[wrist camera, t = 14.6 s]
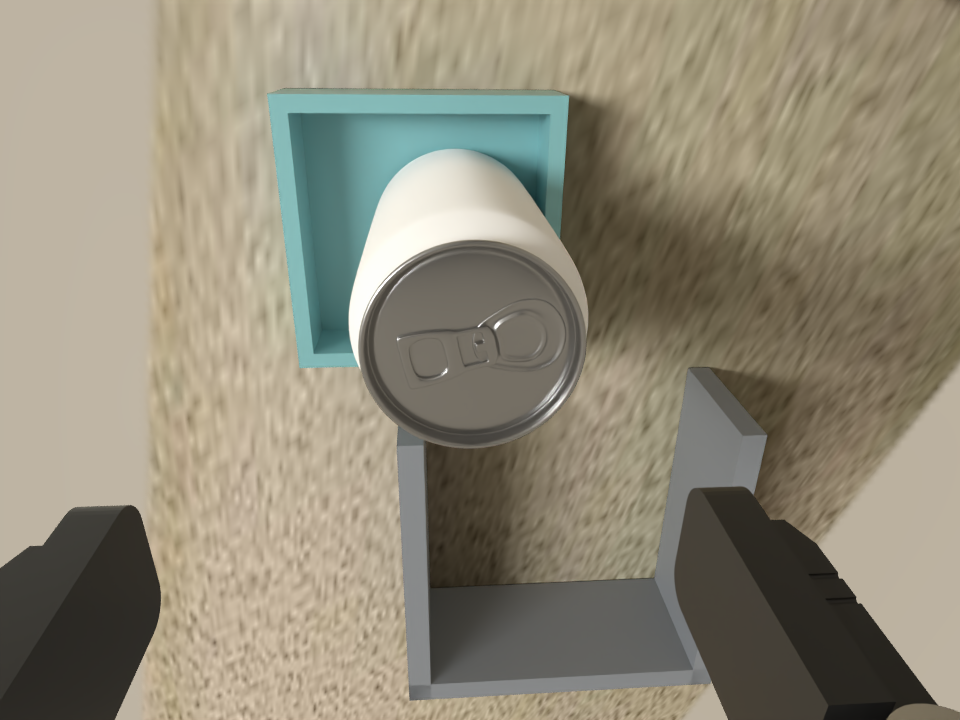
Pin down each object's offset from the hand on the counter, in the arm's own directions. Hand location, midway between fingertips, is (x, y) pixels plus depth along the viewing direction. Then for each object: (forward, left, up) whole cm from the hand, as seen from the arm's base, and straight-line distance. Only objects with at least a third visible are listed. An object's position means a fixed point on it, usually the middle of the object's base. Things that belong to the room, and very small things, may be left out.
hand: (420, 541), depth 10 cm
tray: (0, 0, -20) cm, 20 cm away
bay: (+14, +6, -20) cm, 25 cm away
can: (0, +1, -19) cm, 19 cm away
